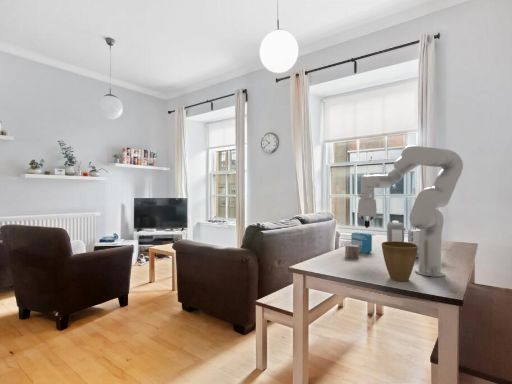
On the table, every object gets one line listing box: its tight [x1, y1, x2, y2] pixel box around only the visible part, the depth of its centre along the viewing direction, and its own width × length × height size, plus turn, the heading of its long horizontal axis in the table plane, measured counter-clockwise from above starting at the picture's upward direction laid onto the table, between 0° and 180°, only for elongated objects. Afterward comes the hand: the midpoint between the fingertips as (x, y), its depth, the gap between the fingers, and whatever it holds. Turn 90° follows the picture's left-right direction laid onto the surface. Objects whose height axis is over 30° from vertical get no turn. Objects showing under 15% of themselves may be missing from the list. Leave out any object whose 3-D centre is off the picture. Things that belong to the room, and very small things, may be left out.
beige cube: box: [344, 243, 360, 260], centre depth 178 cm, size 7×7×7 cm
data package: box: [350, 231, 373, 254], centre depth 193 cm, size 12×4×12 cm, turn 40°
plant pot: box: [381, 241, 418, 282], centre depth 135 cm, size 15×15×16 cm
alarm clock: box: [386, 220, 405, 242], centre depth 192 cm, size 18×8×20 cm, turn 161°
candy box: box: [407, 229, 420, 260], centre depth 176 cm, size 14×6×16 cm, turn 84°
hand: (366, 227), depth 175 cm, fingers closed
